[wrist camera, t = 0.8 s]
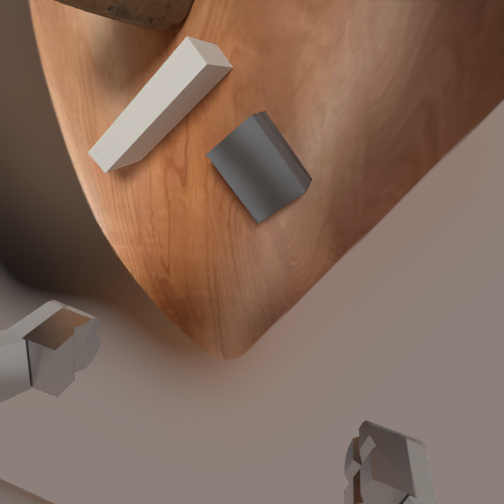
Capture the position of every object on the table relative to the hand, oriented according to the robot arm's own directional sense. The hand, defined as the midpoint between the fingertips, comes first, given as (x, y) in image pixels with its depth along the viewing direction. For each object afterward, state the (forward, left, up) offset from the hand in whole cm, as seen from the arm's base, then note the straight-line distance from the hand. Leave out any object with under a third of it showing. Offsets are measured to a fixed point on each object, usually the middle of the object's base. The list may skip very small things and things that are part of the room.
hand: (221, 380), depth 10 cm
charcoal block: (+6, -4, -37) cm, 37 cm away
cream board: (+12, -16, -36) cm, 41 cm away
